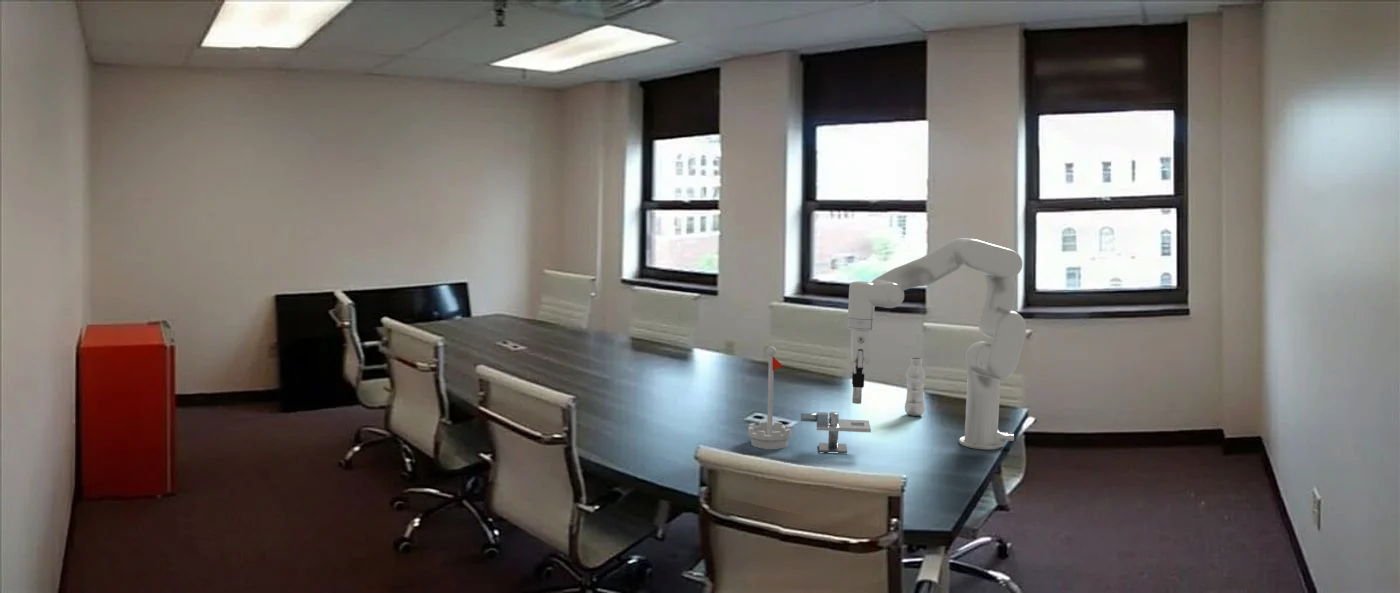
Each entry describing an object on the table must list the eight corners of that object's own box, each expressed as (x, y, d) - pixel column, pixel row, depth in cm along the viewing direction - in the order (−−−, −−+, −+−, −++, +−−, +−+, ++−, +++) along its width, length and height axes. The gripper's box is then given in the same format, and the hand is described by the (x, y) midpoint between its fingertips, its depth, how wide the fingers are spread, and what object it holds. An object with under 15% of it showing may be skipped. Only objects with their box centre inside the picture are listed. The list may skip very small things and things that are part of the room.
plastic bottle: (926, 417, 304) (928, 360, 302) (906, 417, 305) (908, 359, 302) (921, 413, 311) (924, 356, 309) (902, 413, 311) (904, 356, 309)
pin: (861, 402, 263) (863, 355, 262) (861, 403, 261) (863, 356, 259) (852, 401, 264) (854, 354, 262) (852, 403, 261) (854, 356, 260)
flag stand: (739, 442, 271) (740, 345, 268) (771, 436, 279) (773, 341, 276) (767, 452, 261) (769, 351, 258) (799, 445, 269) (802, 347, 265)
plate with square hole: (867, 446, 268) (868, 410, 267) (869, 456, 259) (871, 418, 257) (800, 443, 271) (801, 408, 270) (799, 452, 261) (800, 416, 260)
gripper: (875, 328, 251) (872, 392, 253) (871, 320, 267) (869, 381, 269) (848, 327, 252) (846, 391, 254) (846, 319, 268) (843, 380, 270)
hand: (857, 385), depth 262 cm, fingers closed on pin, 2 cm apart
